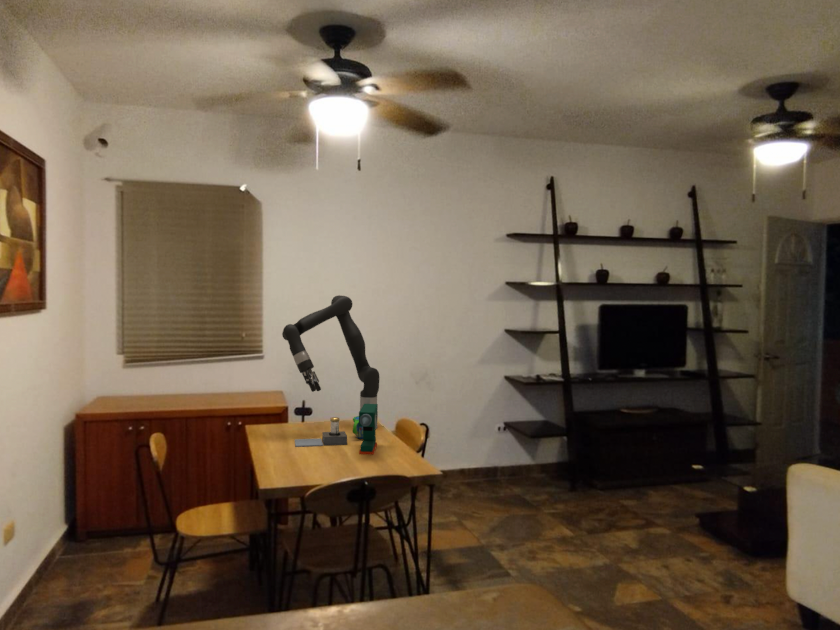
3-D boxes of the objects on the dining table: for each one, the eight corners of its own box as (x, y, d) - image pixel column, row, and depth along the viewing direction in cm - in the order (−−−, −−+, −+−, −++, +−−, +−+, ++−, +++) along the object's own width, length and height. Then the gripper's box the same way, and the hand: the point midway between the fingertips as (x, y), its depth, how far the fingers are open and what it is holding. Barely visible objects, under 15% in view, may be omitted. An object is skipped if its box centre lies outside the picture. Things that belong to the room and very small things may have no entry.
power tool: (371, 462, 270) (372, 416, 269) (355, 462, 270) (356, 416, 269) (377, 444, 302) (378, 403, 301) (363, 444, 302) (364, 403, 301)
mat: (321, 439, 309) (321, 438, 309) (323, 446, 297) (323, 444, 297) (294, 440, 306) (294, 439, 306) (295, 446, 294) (295, 445, 294)
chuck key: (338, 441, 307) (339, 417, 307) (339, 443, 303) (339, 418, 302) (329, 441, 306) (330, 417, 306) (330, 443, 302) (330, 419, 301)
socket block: (344, 439, 311) (344, 431, 311) (347, 444, 300) (347, 436, 300) (322, 440, 309) (322, 432, 308) (324, 445, 298) (324, 437, 298)
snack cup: (360, 442, 306) (361, 421, 306) (344, 438, 312) (345, 418, 312) (380, 436, 319) (381, 416, 319) (365, 433, 325) (365, 414, 325)
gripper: (305, 357, 304) (319, 387, 302) (314, 358, 318) (327, 387, 316) (292, 364, 305) (305, 394, 302) (301, 365, 319) (314, 393, 316)
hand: (316, 390), depth 309 cm, fingers open, 8 cm apart
